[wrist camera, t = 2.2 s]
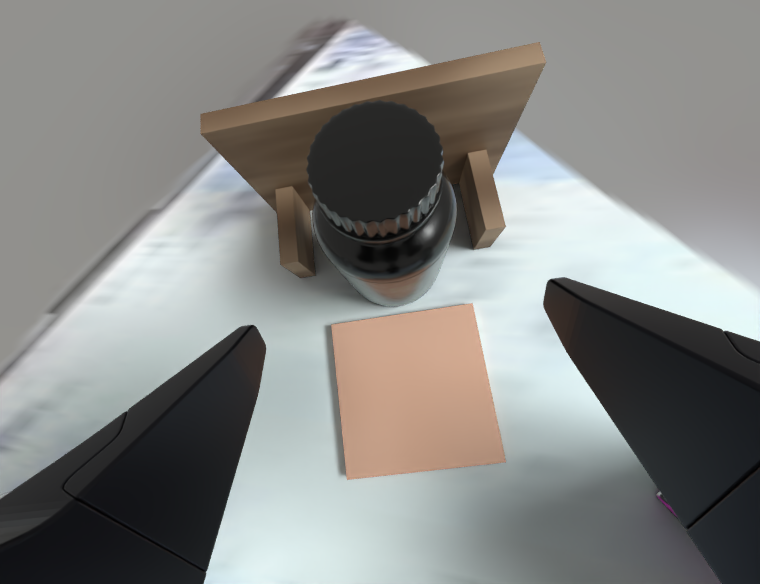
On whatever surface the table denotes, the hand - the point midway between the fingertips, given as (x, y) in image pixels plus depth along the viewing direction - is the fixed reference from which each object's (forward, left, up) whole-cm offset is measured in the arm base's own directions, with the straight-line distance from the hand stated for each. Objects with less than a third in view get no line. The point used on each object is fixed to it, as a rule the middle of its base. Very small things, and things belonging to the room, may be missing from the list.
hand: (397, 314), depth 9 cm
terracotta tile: (-2, -3, -12) cm, 12 cm away
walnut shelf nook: (+4, +8, -12) cm, 15 cm away
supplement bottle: (+2, +5, -12) cm, 13 cm away
